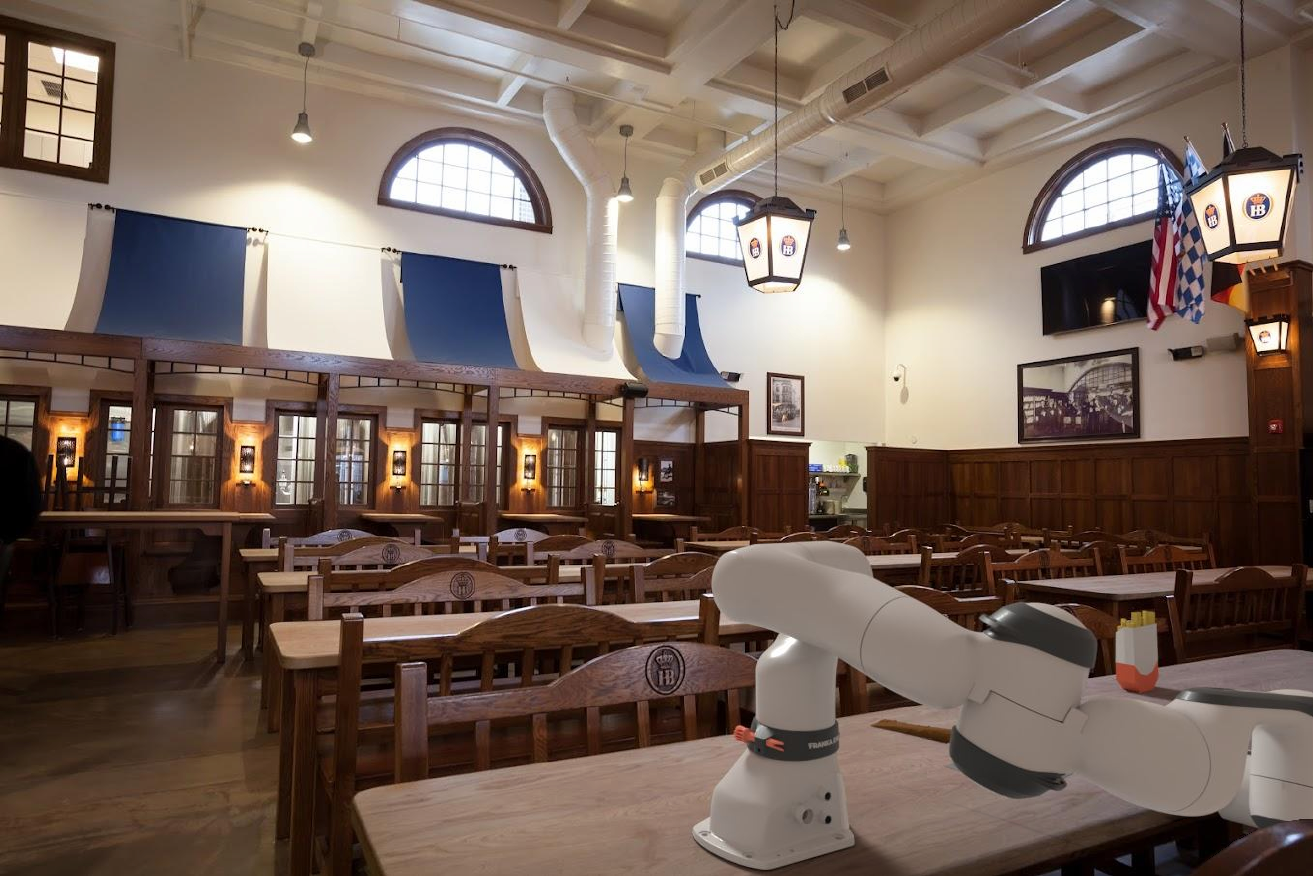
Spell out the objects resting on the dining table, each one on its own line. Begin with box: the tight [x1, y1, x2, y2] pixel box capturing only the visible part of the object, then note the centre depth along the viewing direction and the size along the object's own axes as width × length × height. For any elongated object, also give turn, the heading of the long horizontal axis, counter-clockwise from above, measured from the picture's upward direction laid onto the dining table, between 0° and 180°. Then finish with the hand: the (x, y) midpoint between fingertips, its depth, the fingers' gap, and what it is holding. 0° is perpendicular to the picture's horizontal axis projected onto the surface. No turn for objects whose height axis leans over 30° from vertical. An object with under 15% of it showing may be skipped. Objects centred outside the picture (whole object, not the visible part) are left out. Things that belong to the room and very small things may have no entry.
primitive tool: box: [870, 718, 952, 744], centre depth 150 cm, size 19×6×4 cm, turn 44°
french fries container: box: [1115, 610, 1160, 693], centre depth 184 cm, size 5×11×18 cm, turn 123°
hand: (1127, 761), depth 117 cm, fingers closed
